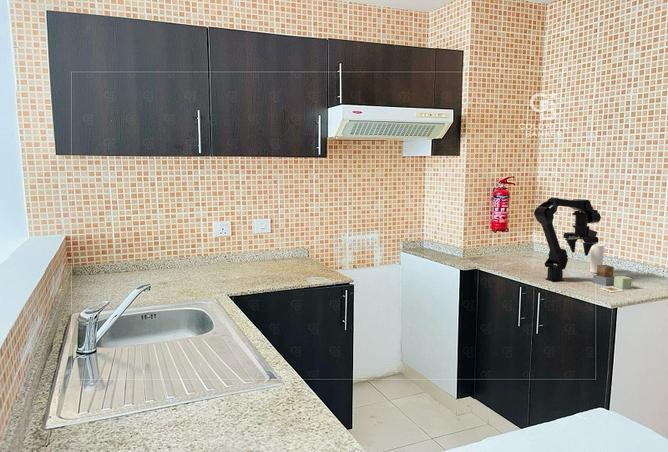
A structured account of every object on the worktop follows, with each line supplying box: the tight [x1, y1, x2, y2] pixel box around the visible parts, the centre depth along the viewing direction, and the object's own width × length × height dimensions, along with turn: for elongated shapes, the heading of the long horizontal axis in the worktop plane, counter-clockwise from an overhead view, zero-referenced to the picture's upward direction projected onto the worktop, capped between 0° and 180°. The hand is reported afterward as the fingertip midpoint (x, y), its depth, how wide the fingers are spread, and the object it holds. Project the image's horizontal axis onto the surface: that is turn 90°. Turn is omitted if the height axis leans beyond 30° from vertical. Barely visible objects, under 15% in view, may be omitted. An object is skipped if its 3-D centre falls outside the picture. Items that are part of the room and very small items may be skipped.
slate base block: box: [592, 274, 616, 287], centre depth 244 cm, size 7×7×4 cm
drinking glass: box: [589, 243, 605, 274], centre depth 267 cm, size 7×7×15 cm
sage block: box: [613, 275, 633, 290], centre depth 235 cm, size 5×5×5 cm
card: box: [599, 286, 625, 293], centre depth 232 cm, size 7×7×1 cm
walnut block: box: [596, 264, 615, 278], centre depth 243 cm, size 5×5×5 cm
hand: (579, 254), depth 256 cm, fingers open, 9 cm apart
